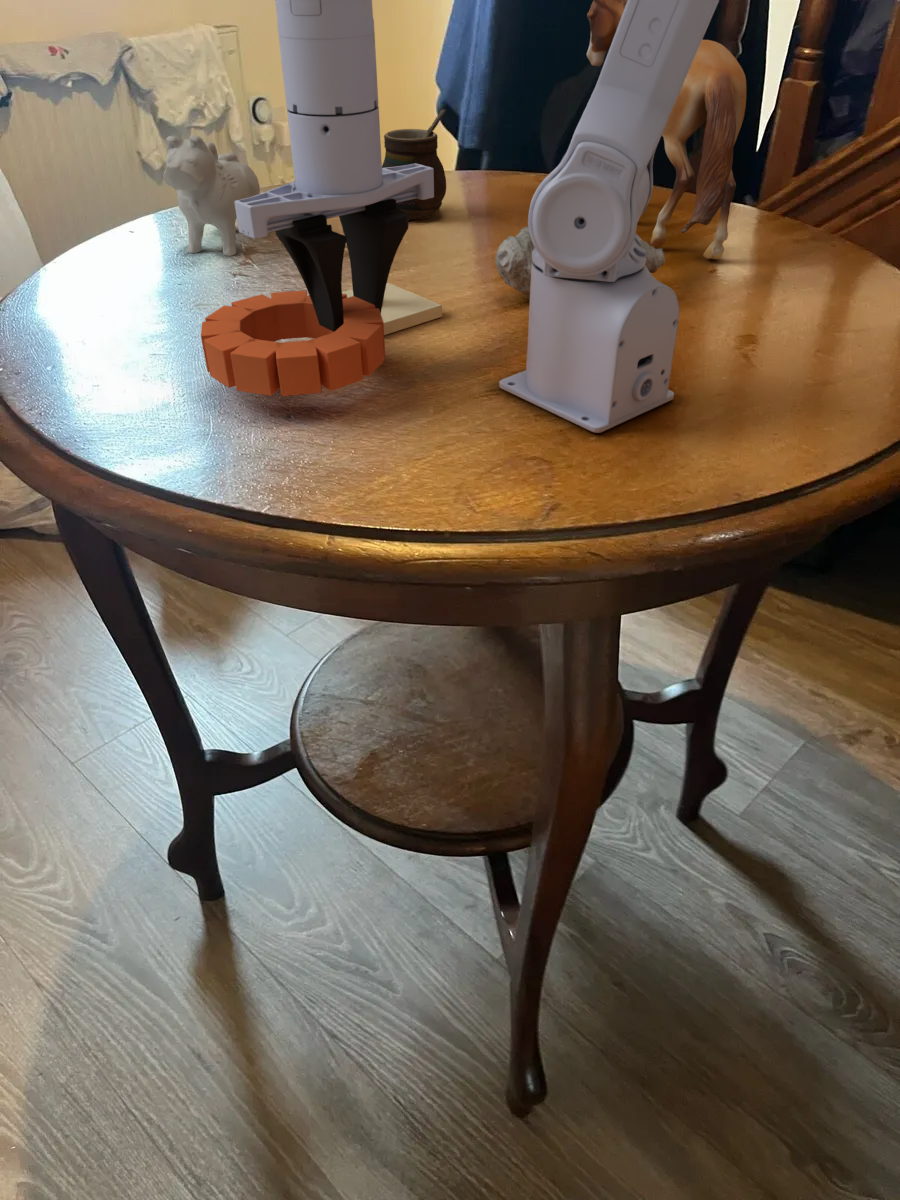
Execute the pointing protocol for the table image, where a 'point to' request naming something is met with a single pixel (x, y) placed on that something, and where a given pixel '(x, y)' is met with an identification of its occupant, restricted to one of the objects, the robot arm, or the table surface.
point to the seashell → (518, 260)
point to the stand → (404, 309)
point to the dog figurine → (208, 188)
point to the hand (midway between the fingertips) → (350, 321)
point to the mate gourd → (419, 150)
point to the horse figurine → (692, 125)
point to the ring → (291, 345)
